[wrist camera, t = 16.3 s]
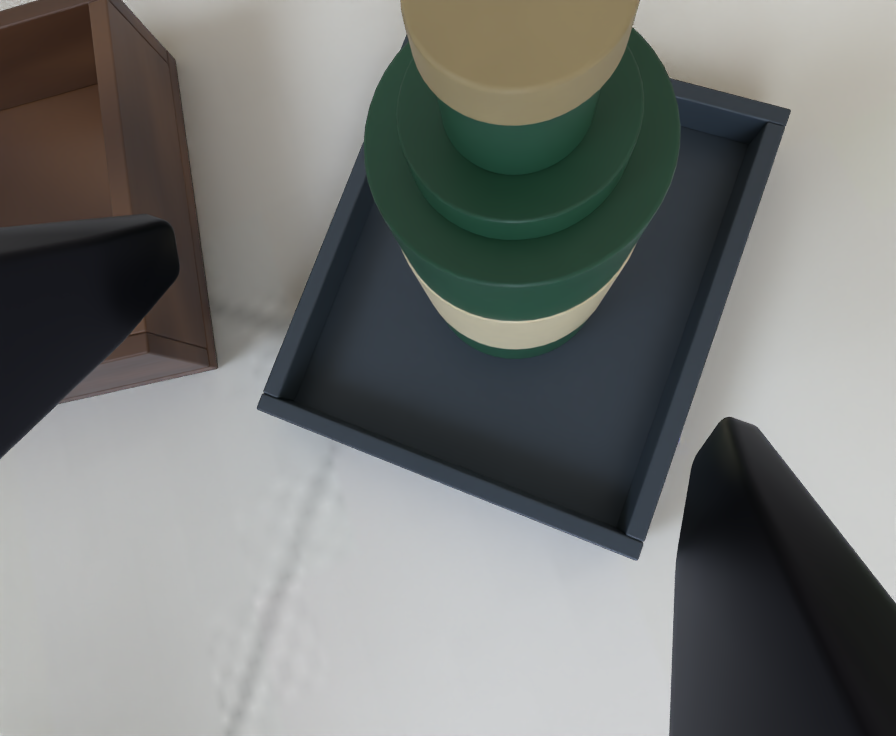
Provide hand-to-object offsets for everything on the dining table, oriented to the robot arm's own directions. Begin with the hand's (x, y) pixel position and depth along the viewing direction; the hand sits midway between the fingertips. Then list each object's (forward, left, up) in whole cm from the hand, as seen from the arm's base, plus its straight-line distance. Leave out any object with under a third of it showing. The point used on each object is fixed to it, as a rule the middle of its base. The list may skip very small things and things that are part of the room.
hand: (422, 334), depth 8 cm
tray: (+4, +2, -12) cm, 12 cm away
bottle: (+4, +2, -11) cm, 12 cm away
